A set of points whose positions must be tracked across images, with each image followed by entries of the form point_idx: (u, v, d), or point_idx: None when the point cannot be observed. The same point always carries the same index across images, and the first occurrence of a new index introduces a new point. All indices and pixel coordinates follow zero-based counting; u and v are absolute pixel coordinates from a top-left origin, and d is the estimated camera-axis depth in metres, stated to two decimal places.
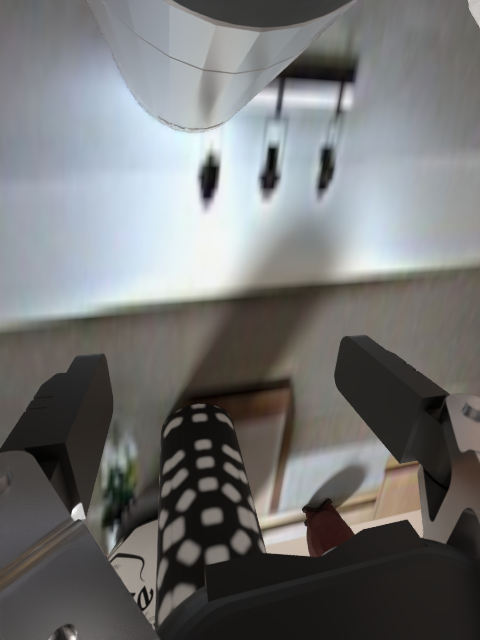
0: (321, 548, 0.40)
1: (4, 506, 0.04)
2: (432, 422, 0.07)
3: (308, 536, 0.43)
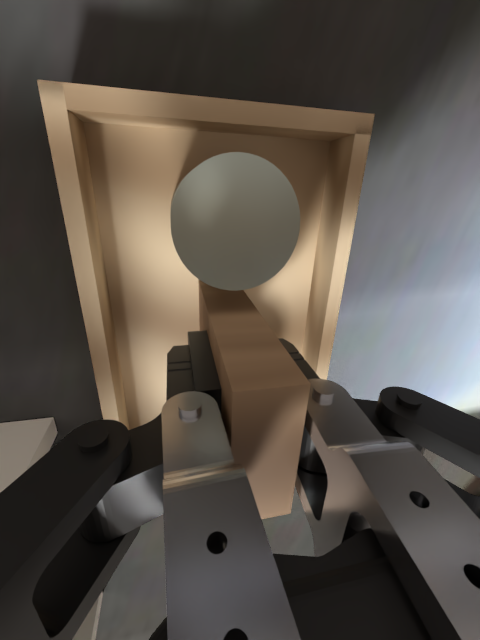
0: None
1: (194, 429, 0.06)
2: None
3: None
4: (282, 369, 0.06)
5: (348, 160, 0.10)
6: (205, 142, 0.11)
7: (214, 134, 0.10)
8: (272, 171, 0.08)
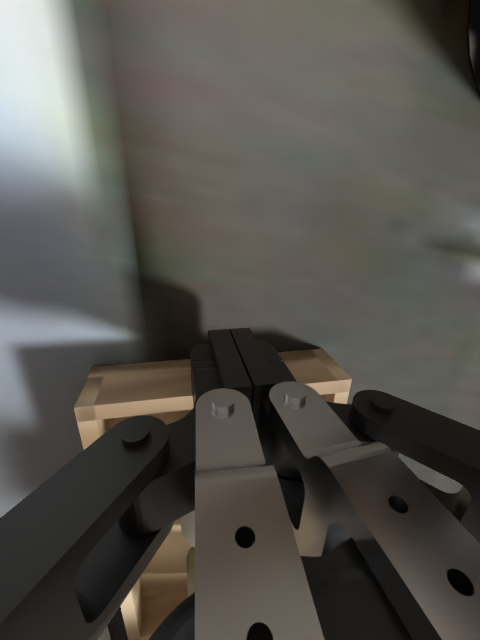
0: None
1: (227, 426, 0.06)
2: (264, 409, 0.07)
3: None
4: None
5: None
6: None
7: None
8: None
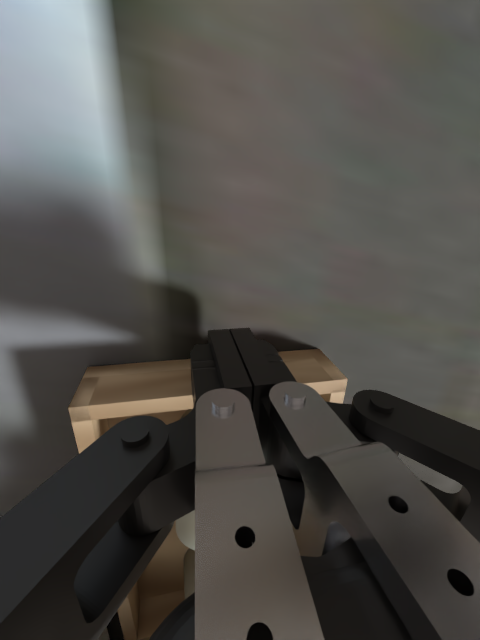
0: None
1: (227, 425, 0.06)
2: (264, 409, 0.07)
3: None
4: None
5: None
6: None
7: None
8: None
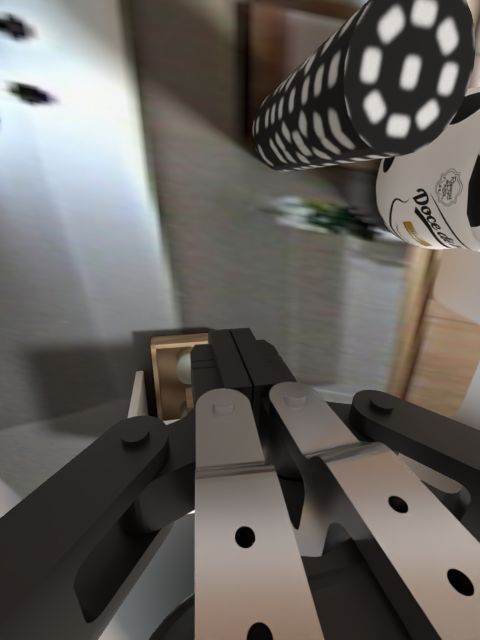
0: None
1: (227, 425, 0.06)
2: (264, 409, 0.07)
3: None
4: None
5: None
6: None
7: None
8: None
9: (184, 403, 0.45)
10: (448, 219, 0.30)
